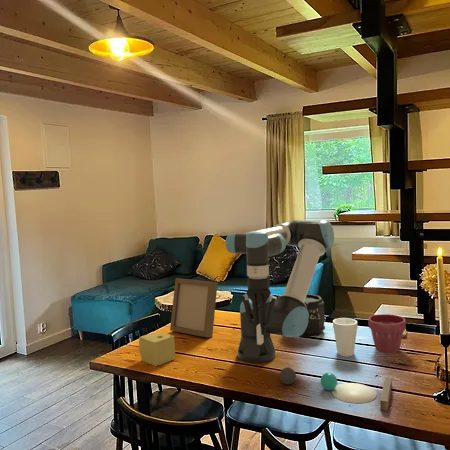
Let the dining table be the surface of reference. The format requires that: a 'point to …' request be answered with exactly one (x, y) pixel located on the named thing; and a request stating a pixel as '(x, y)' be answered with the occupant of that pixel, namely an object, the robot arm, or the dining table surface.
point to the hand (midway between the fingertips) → (260, 343)
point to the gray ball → (287, 376)
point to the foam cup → (345, 335)
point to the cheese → (157, 348)
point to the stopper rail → (386, 394)
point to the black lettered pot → (314, 316)
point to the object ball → (328, 381)
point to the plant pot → (387, 332)
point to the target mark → (354, 393)
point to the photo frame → (194, 307)
